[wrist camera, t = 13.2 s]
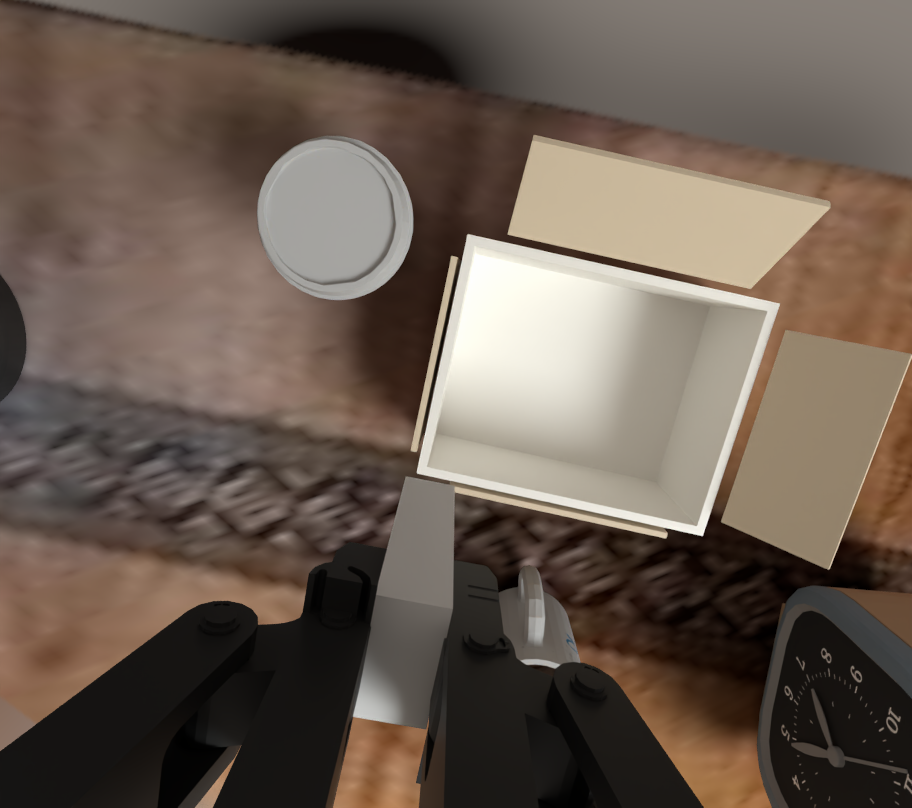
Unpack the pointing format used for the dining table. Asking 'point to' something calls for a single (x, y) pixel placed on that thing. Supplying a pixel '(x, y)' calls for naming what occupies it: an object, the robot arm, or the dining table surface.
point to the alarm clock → (839, 701)
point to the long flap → (657, 213)
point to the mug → (537, 624)
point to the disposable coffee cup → (335, 217)
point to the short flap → (813, 443)
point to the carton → (587, 387)
